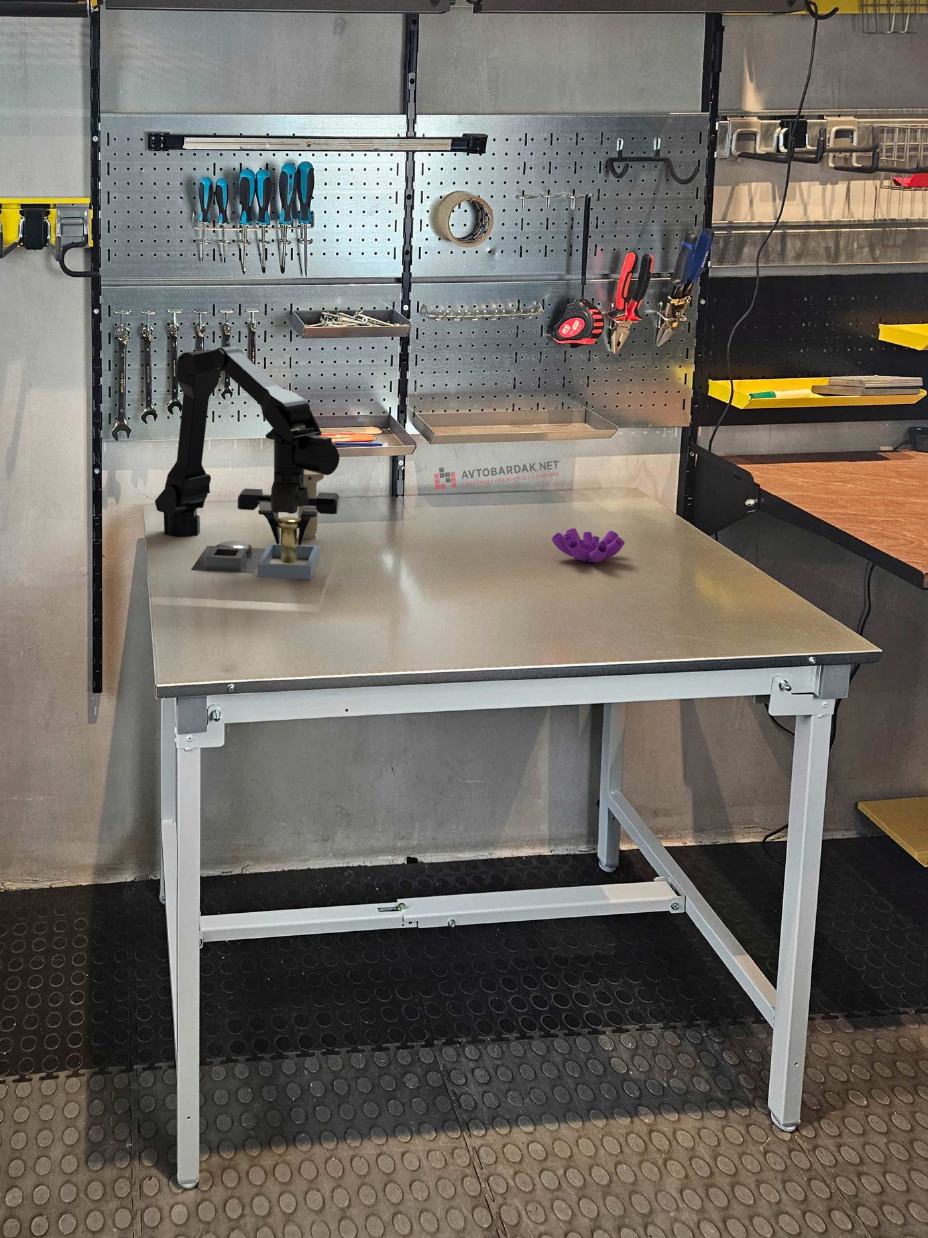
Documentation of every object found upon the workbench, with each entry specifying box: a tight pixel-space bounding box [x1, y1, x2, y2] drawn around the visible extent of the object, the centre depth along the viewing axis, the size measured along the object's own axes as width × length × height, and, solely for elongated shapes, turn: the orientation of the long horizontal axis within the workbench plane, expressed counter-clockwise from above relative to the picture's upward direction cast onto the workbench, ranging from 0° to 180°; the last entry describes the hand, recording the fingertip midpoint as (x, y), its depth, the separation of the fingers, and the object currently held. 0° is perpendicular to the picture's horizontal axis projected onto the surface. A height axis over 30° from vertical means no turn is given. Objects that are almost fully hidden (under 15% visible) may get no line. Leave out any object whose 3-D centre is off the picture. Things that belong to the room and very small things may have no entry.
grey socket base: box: [190, 540, 266, 574], centre depth 255 cm, size 12×16×4 cm
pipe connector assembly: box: [551, 527, 626, 563], centre depth 268 cm, size 11×15×10 cm
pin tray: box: [256, 542, 320, 580], centre depth 253 cm, size 10×14×4 cm
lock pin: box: [277, 516, 301, 564], centre depth 251 cm, size 4×4×8 cm
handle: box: [297, 470, 325, 540], centre depth 270 cm, size 5×6×15 cm
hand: (288, 544), depth 251 cm, fingers closed on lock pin, 4 cm apart
